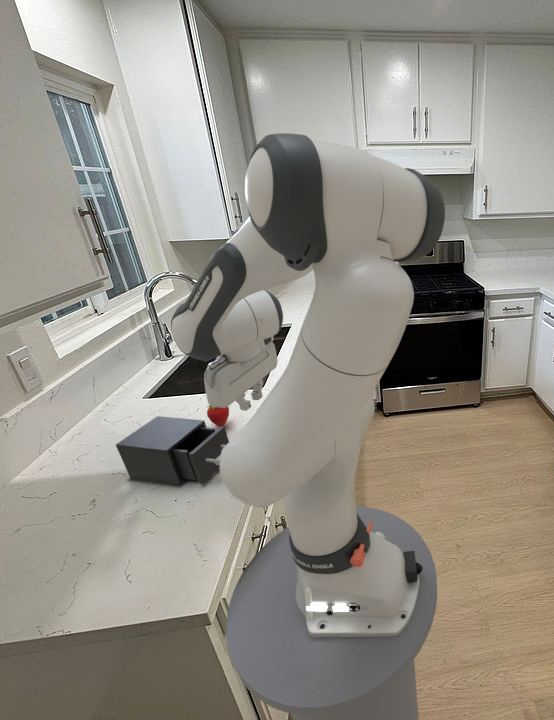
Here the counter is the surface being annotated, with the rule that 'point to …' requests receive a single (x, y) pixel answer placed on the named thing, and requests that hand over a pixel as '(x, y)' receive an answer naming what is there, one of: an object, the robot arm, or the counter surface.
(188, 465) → the dark grey drawer
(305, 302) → the counter surface
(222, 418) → the strawberry
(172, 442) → the drawer box
